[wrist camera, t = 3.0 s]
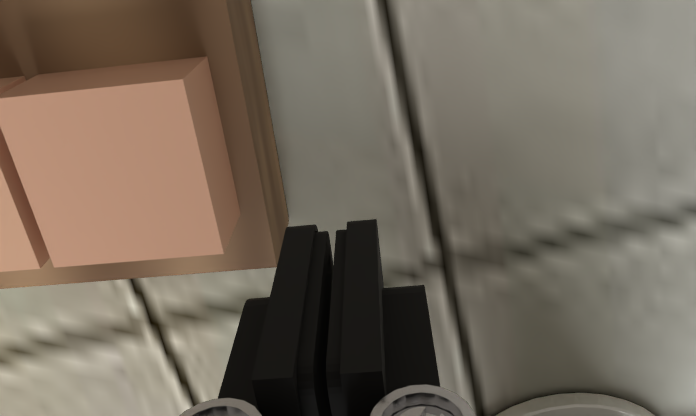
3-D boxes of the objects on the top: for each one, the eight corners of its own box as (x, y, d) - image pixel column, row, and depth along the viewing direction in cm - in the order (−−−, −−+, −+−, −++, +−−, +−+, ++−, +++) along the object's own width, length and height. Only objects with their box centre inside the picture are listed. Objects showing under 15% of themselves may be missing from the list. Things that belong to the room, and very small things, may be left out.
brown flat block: (244, -37, 23) (220, -26, 19) (289, 220, 28) (277, 266, 24) (-103, 5, 24) (-185, 22, 21) (-1, 244, 29) (-54, 292, 25)
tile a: (207, 56, 21) (182, 78, 18) (240, 213, 23) (223, 253, 21) (38, 74, 21) (-11, 99, 18) (89, 226, 24) (54, 267, 21)
